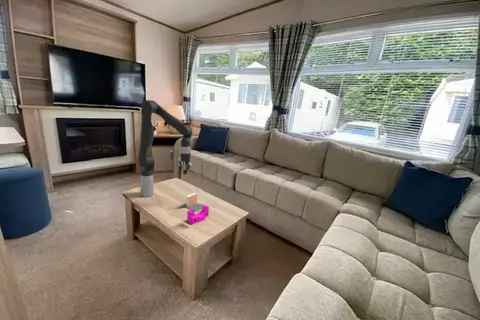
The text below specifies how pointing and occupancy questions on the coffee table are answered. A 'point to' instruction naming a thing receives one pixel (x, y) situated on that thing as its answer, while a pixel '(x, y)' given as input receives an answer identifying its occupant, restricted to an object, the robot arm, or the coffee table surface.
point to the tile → (191, 199)
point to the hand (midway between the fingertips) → (185, 174)
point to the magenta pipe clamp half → (197, 215)
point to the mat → (194, 207)
